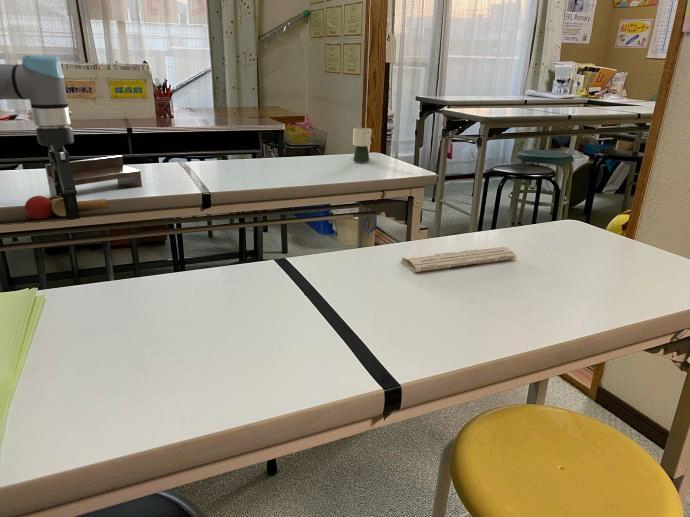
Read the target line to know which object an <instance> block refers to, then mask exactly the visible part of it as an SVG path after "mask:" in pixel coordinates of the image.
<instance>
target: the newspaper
mask: <svg viewBox="0 0 690 517" xmlns="http://www.w3.org/2000/svg"><path fill="white" fill-rule="evenodd" d="M515 259H517V254H516V253H515V252H514V250H512V249H510V248H508V247H507V246H503V245H501V246H500V245H499V246H490V247H484V248H476V249H468V250H458V251H451V252H443V253H435V254H427V255H418V256H417V255H416V256H411V257H402V258H401V260H399V262H400V263H401V264H402V265H404V267H406V268H407V269H408V270H409V271H411V272H412V273H420V272H428V271H433V270H434V271H435V270H442V269H449V268H450V269H451V268H457V267H464V266H465V267H466V266H472V265H480V264H487V263H494V262H502V261H509V260H515Z"/></svg>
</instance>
